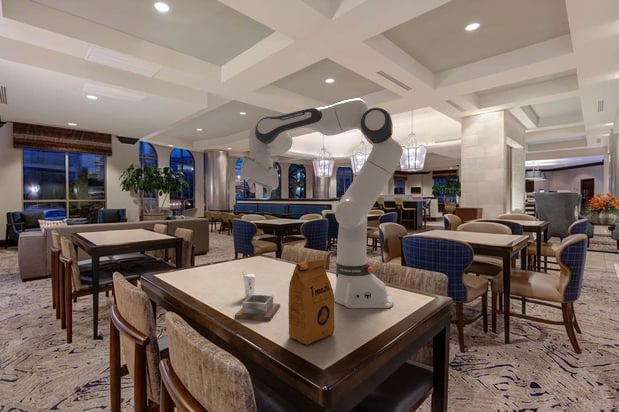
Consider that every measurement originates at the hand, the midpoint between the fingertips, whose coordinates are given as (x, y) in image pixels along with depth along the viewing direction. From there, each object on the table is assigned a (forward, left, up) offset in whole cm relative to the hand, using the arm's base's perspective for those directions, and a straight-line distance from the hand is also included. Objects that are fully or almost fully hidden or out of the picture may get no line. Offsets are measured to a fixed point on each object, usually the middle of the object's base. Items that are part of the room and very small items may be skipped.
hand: (260, 194), depth 121 cm
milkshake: (+4, +4, -40) cm, 41 cm away
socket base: (-5, +18, -40) cm, 44 cm away
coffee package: (-26, +32, -40) cm, 58 cm away
